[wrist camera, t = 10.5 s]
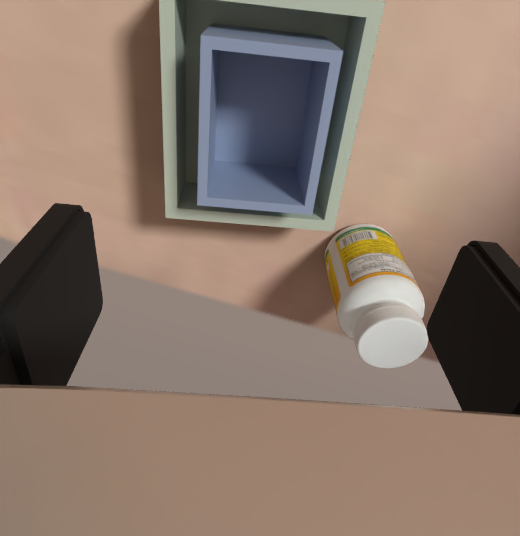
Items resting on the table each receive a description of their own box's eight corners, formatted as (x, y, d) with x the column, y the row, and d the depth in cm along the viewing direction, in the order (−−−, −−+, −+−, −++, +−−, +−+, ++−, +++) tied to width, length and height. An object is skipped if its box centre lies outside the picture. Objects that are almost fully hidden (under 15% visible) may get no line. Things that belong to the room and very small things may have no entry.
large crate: (363, -3, 23) (385, 1, 19) (323, 199, 30) (333, 231, 26) (174, -25, 22) (158, -26, 19) (176, 187, 29) (165, 217, 25)
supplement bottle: (351, 208, 30) (387, 292, 22) (410, 241, 31) (463, 330, 23) (309, 264, 32) (327, 357, 24) (364, 292, 34) (398, 387, 26)
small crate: (324, 36, 23) (343, 51, 18) (301, 173, 28) (312, 215, 23) (211, 23, 23) (200, 35, 18) (207, 164, 27) (197, 205, 22)
